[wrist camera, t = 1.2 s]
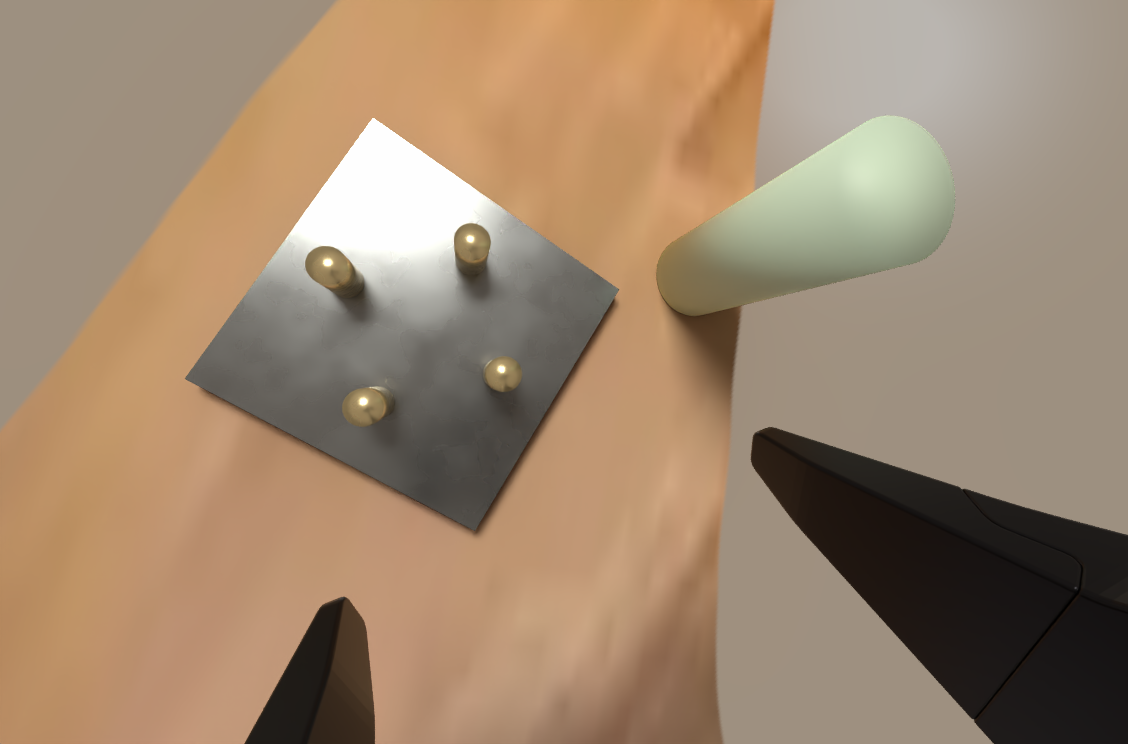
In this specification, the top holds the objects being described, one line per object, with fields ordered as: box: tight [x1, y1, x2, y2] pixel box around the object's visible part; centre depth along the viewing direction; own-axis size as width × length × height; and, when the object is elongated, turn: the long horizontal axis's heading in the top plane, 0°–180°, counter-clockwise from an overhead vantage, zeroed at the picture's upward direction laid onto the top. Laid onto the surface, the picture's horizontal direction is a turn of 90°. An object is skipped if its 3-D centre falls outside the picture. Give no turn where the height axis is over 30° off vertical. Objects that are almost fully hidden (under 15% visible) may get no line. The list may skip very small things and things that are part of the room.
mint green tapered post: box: [656, 116, 955, 316], centre depth 19 cm, size 4×4×12 cm
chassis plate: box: [185, 118, 619, 531], centre depth 20 cm, size 14×14×4 cm
